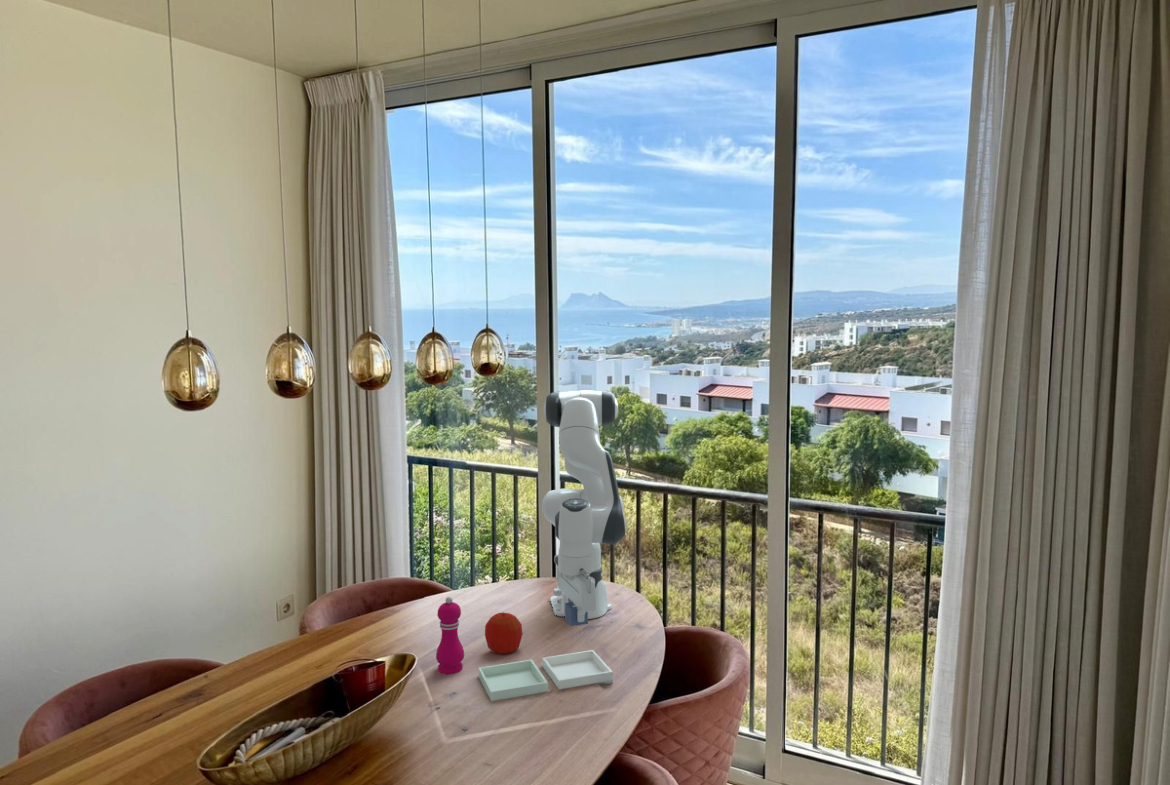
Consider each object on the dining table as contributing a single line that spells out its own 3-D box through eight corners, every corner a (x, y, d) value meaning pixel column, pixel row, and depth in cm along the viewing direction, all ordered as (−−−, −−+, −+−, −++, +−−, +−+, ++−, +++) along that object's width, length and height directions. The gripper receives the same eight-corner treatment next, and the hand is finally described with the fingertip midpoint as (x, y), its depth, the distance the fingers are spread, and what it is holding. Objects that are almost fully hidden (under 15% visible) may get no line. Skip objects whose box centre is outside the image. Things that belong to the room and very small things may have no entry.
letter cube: (565, 620, 200) (565, 602, 200) (581, 617, 202) (581, 600, 201) (570, 626, 196) (570, 608, 195) (587, 623, 197) (587, 606, 197)
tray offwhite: (542, 668, 204) (542, 657, 204) (592, 660, 209) (592, 649, 209) (559, 692, 191) (559, 680, 191) (612, 683, 196) (612, 671, 195)
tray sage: (478, 679, 198) (478, 667, 198) (532, 670, 203) (531, 659, 203) (491, 704, 185) (491, 692, 185) (548, 694, 190) (548, 682, 190)
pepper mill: (458, 679, 199) (457, 602, 197) (432, 676, 200) (430, 600, 198) (468, 666, 206) (467, 593, 204) (442, 664, 207) (441, 591, 205)
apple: (528, 648, 217) (528, 608, 216) (509, 662, 208) (508, 620, 207) (498, 642, 222) (497, 602, 221) (478, 655, 213) (477, 614, 212)
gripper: (602, 574, 189) (602, 629, 190) (574, 552, 208) (575, 602, 209) (578, 577, 187) (578, 633, 188) (552, 554, 206) (552, 605, 207)
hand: (576, 617), depth 199 cm, fingers closed on letter cube, 4 cm apart
